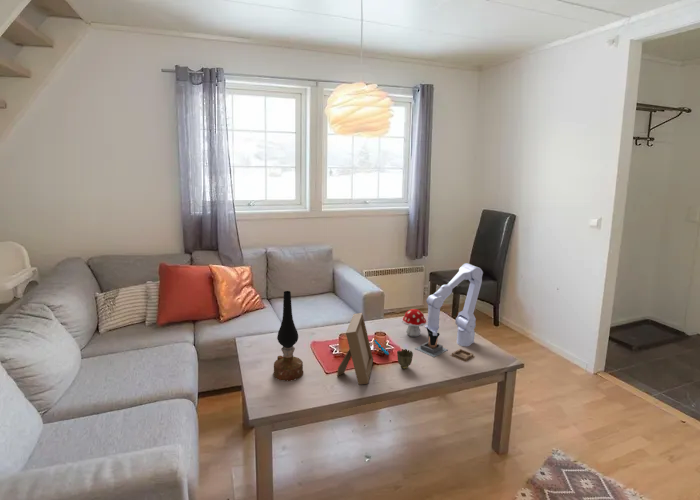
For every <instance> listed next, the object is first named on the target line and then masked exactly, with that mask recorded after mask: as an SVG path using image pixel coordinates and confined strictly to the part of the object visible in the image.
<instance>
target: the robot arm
mask: <svg viewBox="0 0 700 500" xmlns="http://www.w3.org/2000/svg"><path fill="white" fill-rule="evenodd" d="M483 274H484V271H483V270H482V268H481V267H478V266H475V265H473V264H471V263H469V262H465V263H463V264H462V265H461V266H460V267H459V269H458V272H457V273H456V274H455V275H454V276H453V277H452V279H451V280H450V281H449V282H448V283H447V284H442V285H441V286H440V287H439V288H438V289H437V290H436V291H435V292H434V293H433V294H430V295H428V297H427V298H426V303H427V308H428V310H427V322H426V324H425V325H424V328H425V329H426V330H427V334H428V338H429V337H430V344H431V345H435V343H436V340H437V338H438V339H439V337H440V332H439V329H440V316H441V307H442V306H443V305H444V302H445V300H446V299H447V298H448V297H450V296H451V294H452V293H453V289H454V288H455V287H457V286H458V285H460V283H461V282H463V281H464V280H465V281H467V280H468V281H469V286H468V290H467V293H466V298H465V301H464V304H463V308H462V310H461V311H459V312H458V314H457V316H456V318H455V325H457V326H456V327H457V334H456V344H457V345H459V346H460V347H469V346H471V345H472V344H474V342H475V336H476V335H475V328H476V326H477V325H476V320H477V318H476V317H475V314H474V313H475V312H474V311H475V309H476V305H477V302H478V301H477V300H478V298H479V295H480V294H479V293H480V290H481V287H482V283H483Z"/></svg>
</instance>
